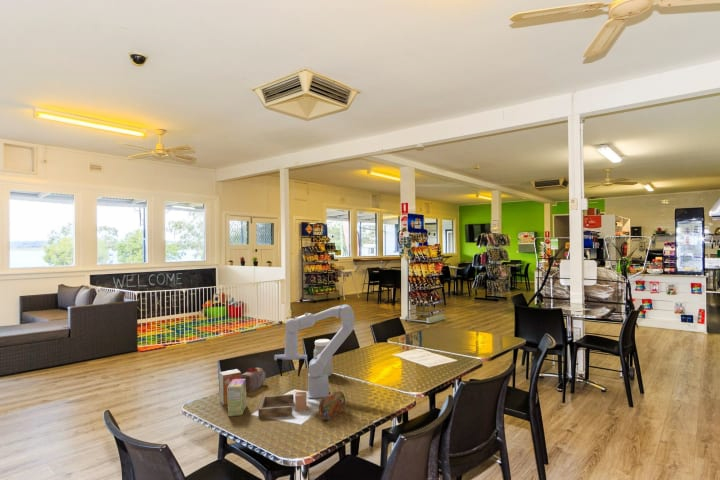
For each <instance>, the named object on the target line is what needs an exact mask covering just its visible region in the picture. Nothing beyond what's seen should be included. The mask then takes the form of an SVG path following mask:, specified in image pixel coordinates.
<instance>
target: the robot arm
mask: <svg viewBox="0 0 720 480" xmlns="http://www.w3.org/2000/svg"><path fill="white" fill-rule="evenodd" d="M331 317H334V318H337V319H339V318H340V319H341V327H340V328H339V330H338V331H337V332H336V334H334V336H333V337H332V339H330V342H329V343H328V345H327V346H326V347H325V348H324V349H323V351H322V352H321V353H320V354H318V355H317V357H315V358H314V357H313V358H312V359H311V360H310V361H309V362H308V374H307V379H308V380H307V384H308V385H307V387H308V388H307V390H308V391H307V398H308V399H316V398H319V399H320V398H324V397H326V396H328V395H329V392H330V386H329V376H328V375H325V374H324V373H323V368H324V367H325V366H326V364H327V362H328V360H329V359H330V358H331V356H332V357H333V355H334V354H335V353H336V352H337V350H338V349H339V348H340V347H341V345H342V344H343V343H344V342H345V341H346V339H347V338H348V337H349V336H350V335H351V333H352V332H353V331H354V323H355V312H354V310H353V308H352V307H351V305H349V304H347V303H344V304H341V305H337V306H333V307H330V308H328V309H325V310H322V311H320V312H319V311H318V312H317V313H311V312H304V314H303V315H300V316H294V318H289V319H287V321H286V323H285V325H284V326H285V338H284V353H283V354H282V353H281V354H274V358H273V360H274V361H276V364H277V366H278V370H279V374H280V377H283V361H287V360H288V361H290V360H291V361H292V360H293V361H294V360H295V361H296V360H298V371H297V377H300V375H301V371H302V368H303V366H304V364H305V361H307V360H308V355H307V354H301V353H298V348H299V347H298V344H299V335H298V332H299V331H298V330H303V329H306V328H309V327H311V326H314V325H315V323H316V322H318V321H321V320H324V319H328V318H331Z"/></svg>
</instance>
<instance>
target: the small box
mask: <svg viewBox="0 0 720 480" xmlns="http://www.w3.org/2000/svg"><path fill="white" fill-rule="evenodd" d="M218 375H219V376H218V377H219V379H218V380H219V383H218V384H219V401H220V403H221V404H222V405H223V406H225V405H228V398H227V387H228V386H229V384H230V383H231V381H232V380H234V379H241V375H242V372H241V371H240V370H239V369H238V368H235V369H230V370H229V369H228V370H225V371H219V374H218Z"/></svg>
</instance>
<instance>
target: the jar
mask: <svg viewBox="0 0 720 480" xmlns="http://www.w3.org/2000/svg"><path fill="white" fill-rule="evenodd" d="M330 341H331V339H328V338H319V339H315V341H314V345H315V346H314V349H313V359H314V358H315V357H317V355H318V354H320V353H321V352H322V351H323V349H324V348H325V347H326V346H327V345H328V343H329V342H330ZM333 366H334V365H333V355H332V356H331V358H330V359H329V360H328V362H327V364H326V366H325V367H324V368H323V373H324V374H325V375H328V377H331V376H332V374H333V370H334V369H333Z"/></svg>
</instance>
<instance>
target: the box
mask: <svg viewBox="0 0 720 480" xmlns="http://www.w3.org/2000/svg"><path fill="white" fill-rule="evenodd" d="M227 398H228V404H227V416H228V417H235V416H242V415H243V414H244V411H245V410H246V408H247V393H246V379H234V380H232V381H231V383H230V384H229V386H228V387H227Z"/></svg>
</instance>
